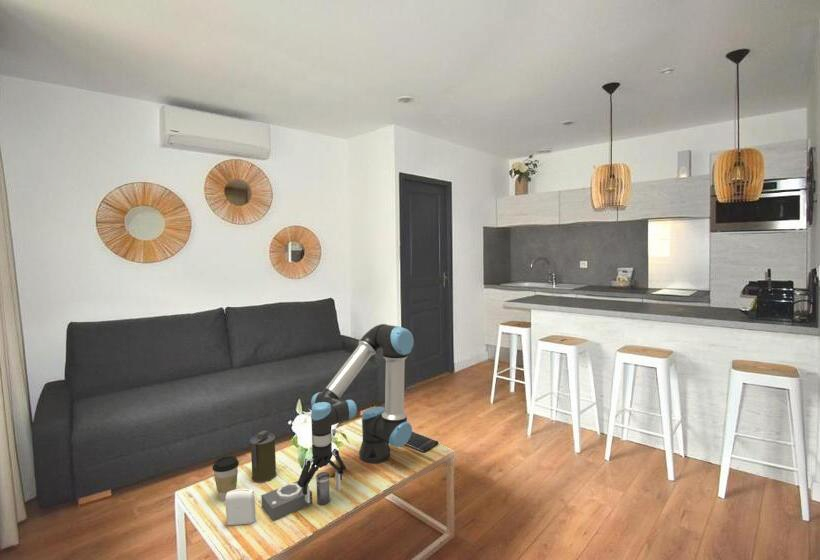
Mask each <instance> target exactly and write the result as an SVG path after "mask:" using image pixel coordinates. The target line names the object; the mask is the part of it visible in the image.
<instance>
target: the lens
mask: <svg viewBox="0 0 820 560" xmlns="http://www.w3.org/2000/svg"><path fill="white" fill-rule="evenodd" d="M315 481H316V504H317V505H318V506H322V507H323V506H326V505H329V504H330V502H331V499H330V498H331V497H330V496H331V495H330V493H331V491H330V473H329V472H327V471H320V472H318V473H316V475H315Z"/></svg>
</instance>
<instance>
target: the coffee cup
mask: <svg viewBox="0 0 820 560" xmlns="http://www.w3.org/2000/svg"><path fill="white" fill-rule="evenodd" d="M239 464H240V462H239V459H238V458H237V457H236V456H234V455H226V456H222V457H220V458H218V459H216V460H215V461H214V463H213V465H212V471H213V472H214V480H215V488H216V492H217V495H218V499H219V501H220V502H225V498H226V494H227V492H229V491H232V490H236V489H237V487H238V486H237V484H238V475H239V474H238V471H239V470H238V469H239V468H238V466H239Z"/></svg>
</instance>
